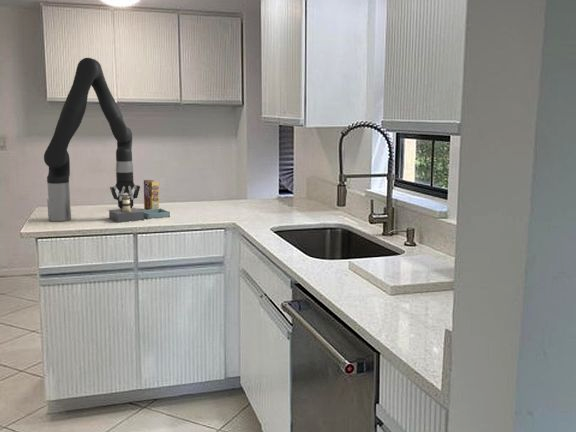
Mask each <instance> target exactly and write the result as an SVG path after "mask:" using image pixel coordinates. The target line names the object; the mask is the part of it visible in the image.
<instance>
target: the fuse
mask: <svg viewBox="0 0 576 432" xmlns="http://www.w3.org/2000/svg"><path fill="white" fill-rule="evenodd" d="M121 201H122V209H121V211H122V212H127V210H130V195H128V194H123V197H122V200H121Z"/></svg>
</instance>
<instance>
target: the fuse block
mask: <svg viewBox="0 0 576 432" xmlns="http://www.w3.org/2000/svg"><path fill="white" fill-rule="evenodd" d="M141 210H142V209H137V208H135V207H132V208H130V210H127V212H122V211H121V209H120V208H118V209H117V208H116V209H109V210H108V214H109V215H108V218H110V220H111V221H114V222H116V223H117V224H118V223H119V224H120V223H127V222H128V223H130V222H129V221H131V222H138V221H139V220H141V221H144V220H145V218H144V215H143V211H141ZM139 222H140V221H139Z"/></svg>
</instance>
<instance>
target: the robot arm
mask: <svg viewBox="0 0 576 432" xmlns="http://www.w3.org/2000/svg"><path fill="white" fill-rule="evenodd" d="M91 88H92V89H93V91H94V92H95V95H96V98H97V100H98V105H99V106H100V109H101V111H102V113H103V115H104V117H105V119H106V122H107V123H108V124H109V127H110V130H111V133H112V135H113V136H114V137H113V138H115V141H116V146H117V147H116V150H115V180H116V184H115V185H113V186H110V187H109V190H110V192H111V195H112V198H113V199H114V200H117V207H118V209H122V201H121V200H122V197H123V195H125V194H127V195H130V208H134V200H135V199H137V198H138V196H139V192H140V189H141V185H138V184H135V183H134V165H133V151H132V147H133V133H132V130H131V129H130V128H129V127H127V125H126V123H125V121H124V117H123V114H122V112H121V110H120V107H119V106H118V104H117V102H116V100H115V98H114V97H113V94H112V92H111V90H110V88H109V86H108V84H107V81H106V78H105V75H104V72H103V68H102V65H101V64H100V62H99V61H98V60H96V59H94V58H92V57H83V58H82V59H80V60H79V62H78V63H77V66H76V71H75V74H74V78H73V82H72V85H71V87H70V90H69V92H68V94H67V97H66V98H65V101H64V103H63V105H62V108H61V111H60V114H59V117H58V120H57V123H56V127H55V129H54V133H53V135H52V138H51V140H50V142H49V143H48V146H47V148H46V149H45V151H44V154H43V161H44V163H45V165H46V166H47V167H48V174H47V177H46V180H47V181H46V182H47V183H46V184H47V199H46V202H47V216H48V217H47V219H48V220H49V221H50V222H67V221H70V220H72V209H71V191H70V174H71V169H70V167H71V163H70V154H69V151H68V147H69V144H70V142H71V140H72V138H73V136H75V134H76V132H77V131H78V129H79V127H80V126H81V124H82V122H83V121H82V120H83V118H84V115H85V113H86V110H87V106H88V105H87V103H88V96H89V92H90V89H91ZM133 189H134V192H133V191H132V190H133ZM117 190H118V193H117V192H116V191H117Z"/></svg>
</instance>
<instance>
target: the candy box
mask: <svg viewBox="0 0 576 432" xmlns="http://www.w3.org/2000/svg"><path fill="white" fill-rule="evenodd" d="M159 185H160V182H159V181H158V180H155V179H154V180H153V179H143V207H144V209H143V210H149V209H160V202H159V201H160V199H159V198H160V193H159V192H160V191H159V188H160V187H159Z"/></svg>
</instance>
